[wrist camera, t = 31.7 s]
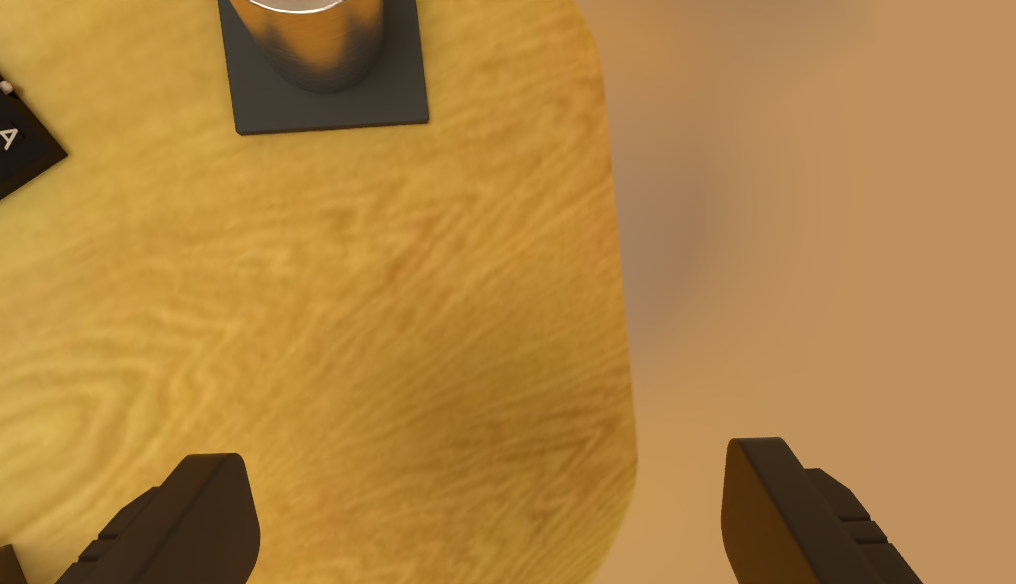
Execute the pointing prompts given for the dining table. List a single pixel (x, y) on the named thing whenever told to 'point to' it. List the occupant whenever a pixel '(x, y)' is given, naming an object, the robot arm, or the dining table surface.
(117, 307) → the dining table surface
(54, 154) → the remote control
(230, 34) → the trivet
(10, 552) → the coffee maker
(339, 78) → the steel carafe
